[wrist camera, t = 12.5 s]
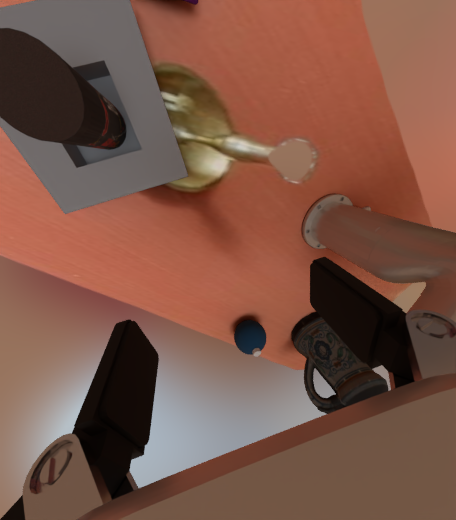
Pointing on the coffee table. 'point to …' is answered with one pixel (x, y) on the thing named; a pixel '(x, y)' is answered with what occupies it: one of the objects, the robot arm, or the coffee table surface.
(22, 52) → the deodorant
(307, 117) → the coffee table surface
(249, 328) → the christmas ornament
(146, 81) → the socket block
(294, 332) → the beer stein
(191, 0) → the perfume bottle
